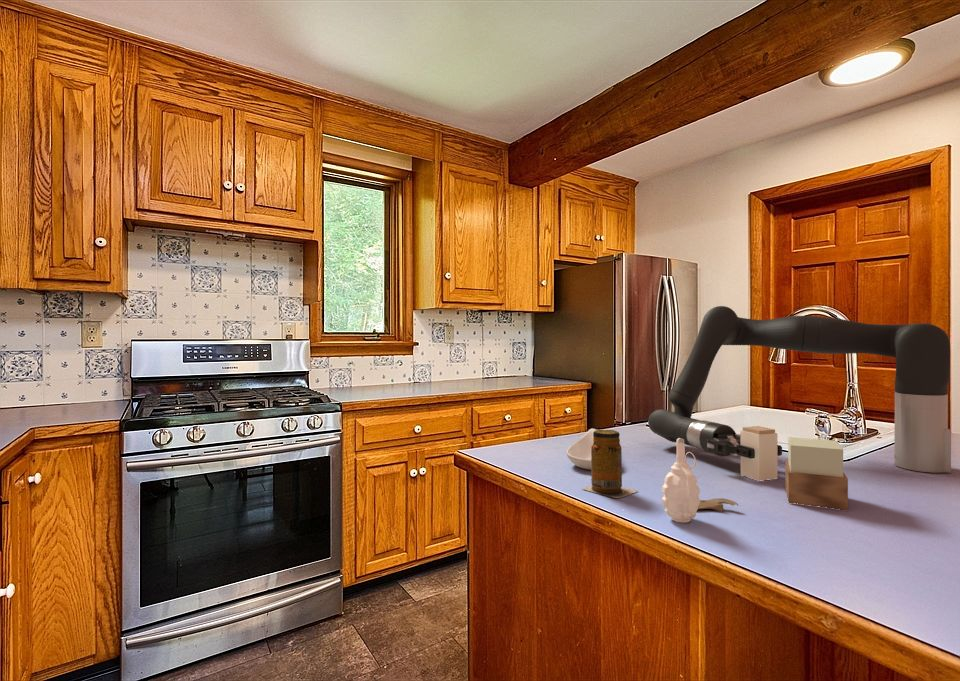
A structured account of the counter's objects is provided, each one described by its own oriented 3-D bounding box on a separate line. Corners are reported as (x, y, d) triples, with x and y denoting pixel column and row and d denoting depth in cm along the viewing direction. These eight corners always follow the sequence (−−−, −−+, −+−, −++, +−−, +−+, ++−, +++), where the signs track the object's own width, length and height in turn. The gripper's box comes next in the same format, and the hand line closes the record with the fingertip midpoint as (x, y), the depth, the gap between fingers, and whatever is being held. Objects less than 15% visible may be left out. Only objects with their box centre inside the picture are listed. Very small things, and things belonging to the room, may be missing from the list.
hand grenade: (655, 513, 90) (654, 435, 89) (689, 512, 90) (688, 434, 90) (675, 530, 82) (674, 444, 82) (711, 528, 83) (711, 443, 83)
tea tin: (758, 473, 114) (758, 425, 114) (777, 479, 109) (777, 429, 109) (740, 475, 112) (740, 427, 112) (759, 481, 108) (758, 431, 107)
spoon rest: (615, 476, 114) (614, 444, 114) (562, 472, 118) (562, 441, 118) (620, 452, 136) (620, 425, 136) (576, 449, 140) (576, 423, 140)
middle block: (836, 466, 98) (836, 440, 97) (843, 477, 91) (843, 449, 90) (788, 461, 101) (788, 437, 101) (790, 471, 94) (790, 445, 94)
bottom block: (839, 497, 98) (839, 466, 98) (847, 512, 90) (847, 478, 90) (785, 490, 102) (785, 461, 102) (788, 504, 94) (788, 472, 94)
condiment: (603, 482, 109) (603, 427, 108) (638, 492, 102) (637, 432, 102) (581, 489, 104) (581, 431, 104) (616, 500, 97) (615, 438, 97)
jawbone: (696, 522, 88) (695, 511, 88) (632, 489, 108) (631, 479, 108) (739, 513, 90) (738, 501, 90) (669, 482, 110) (668, 472, 110)
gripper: (686, 423, 122) (740, 437, 106) (734, 420, 126) (793, 432, 110) (686, 454, 122) (740, 473, 106) (734, 450, 126) (793, 466, 111)
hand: (767, 452), depth 108 cm, fingers open, 7 cm apart
